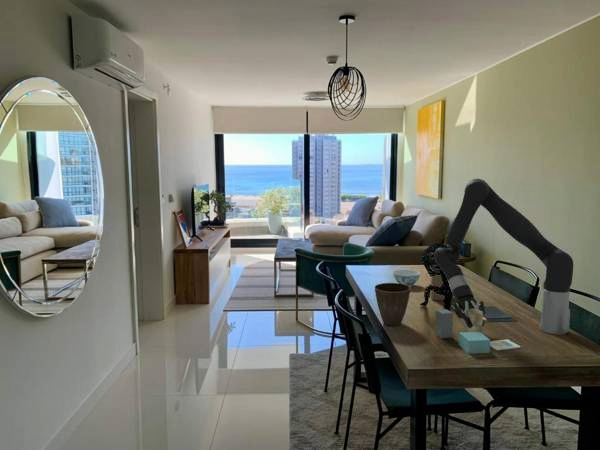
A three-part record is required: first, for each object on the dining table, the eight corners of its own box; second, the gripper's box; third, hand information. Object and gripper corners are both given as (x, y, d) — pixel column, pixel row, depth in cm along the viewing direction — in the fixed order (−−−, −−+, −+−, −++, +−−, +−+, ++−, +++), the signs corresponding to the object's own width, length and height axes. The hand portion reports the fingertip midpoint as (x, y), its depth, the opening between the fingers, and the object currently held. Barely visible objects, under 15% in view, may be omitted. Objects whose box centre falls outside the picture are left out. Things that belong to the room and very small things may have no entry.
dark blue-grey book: (518, 318, 188) (483, 319, 187) (518, 323, 188) (483, 323, 188) (496, 304, 208) (464, 305, 207) (495, 308, 208) (464, 309, 207)
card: (507, 340, 167) (507, 339, 167) (520, 347, 160) (520, 346, 160) (484, 343, 165) (484, 341, 165) (496, 350, 158) (496, 348, 158)
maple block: (475, 332, 176) (476, 308, 175) (481, 336, 172) (482, 311, 171) (465, 333, 175) (466, 309, 174) (471, 337, 171) (472, 312, 170)
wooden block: (450, 296, 226) (452, 258, 224) (451, 301, 217) (453, 262, 214) (430, 295, 229) (431, 257, 227) (431, 300, 220) (432, 261, 217)
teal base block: (479, 344, 164) (479, 331, 164) (489, 353, 156) (490, 340, 156) (458, 345, 164) (459, 332, 163) (468, 354, 156) (468, 340, 155)
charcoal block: (445, 333, 176) (446, 309, 174) (451, 337, 171) (452, 312, 170) (435, 334, 175) (436, 310, 173) (441, 338, 170) (442, 313, 169)
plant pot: (384, 331, 178) (384, 293, 176) (368, 319, 192) (368, 284, 190) (416, 327, 182) (417, 290, 180) (398, 316, 196) (399, 281, 194)
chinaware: (421, 289, 239) (421, 276, 238) (393, 288, 242) (393, 275, 241) (418, 282, 254) (418, 269, 253) (392, 282, 256) (392, 269, 255)
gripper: (448, 285, 177) (464, 324, 167) (479, 283, 180) (497, 320, 170) (441, 294, 183) (456, 332, 172) (471, 292, 186) (488, 329, 176)
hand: (476, 326), depth 171 cm, fingers closed on maple block, 4 cm apart
